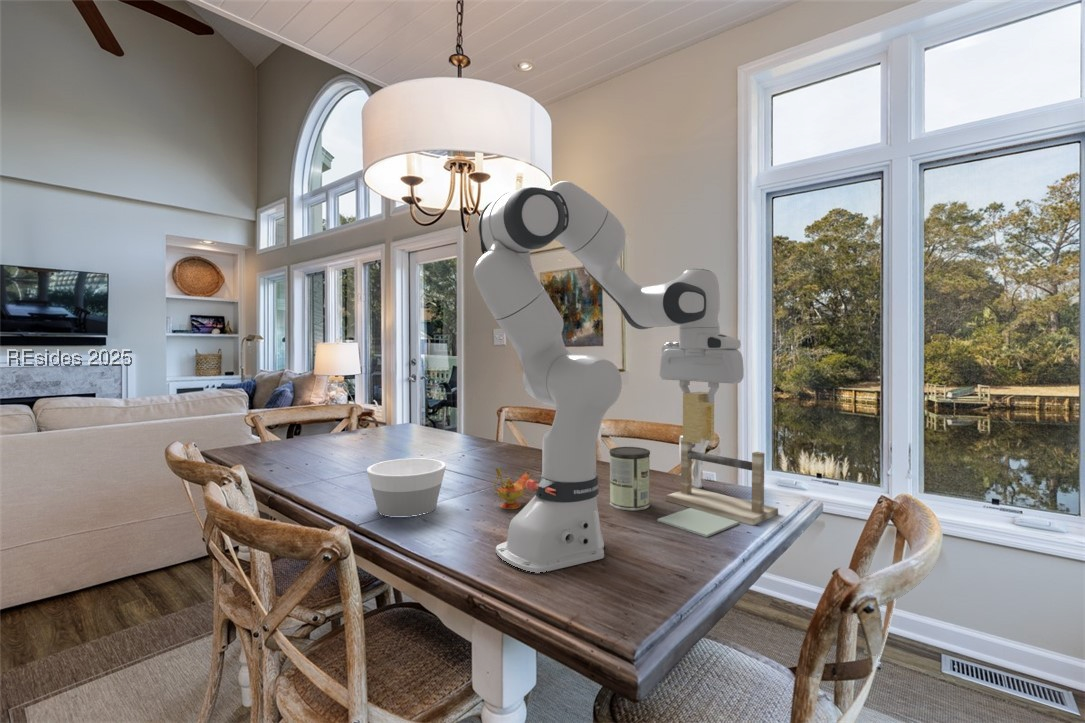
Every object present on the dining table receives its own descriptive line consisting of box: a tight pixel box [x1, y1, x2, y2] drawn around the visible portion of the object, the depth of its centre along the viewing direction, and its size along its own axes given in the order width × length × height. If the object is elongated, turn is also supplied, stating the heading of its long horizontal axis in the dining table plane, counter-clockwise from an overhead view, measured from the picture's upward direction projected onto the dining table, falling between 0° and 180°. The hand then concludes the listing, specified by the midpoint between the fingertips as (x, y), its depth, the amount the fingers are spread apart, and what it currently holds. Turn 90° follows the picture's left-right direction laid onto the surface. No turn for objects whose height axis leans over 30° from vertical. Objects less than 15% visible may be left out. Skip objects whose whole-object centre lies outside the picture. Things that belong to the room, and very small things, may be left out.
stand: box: [665, 441, 779, 526], centre depth 127 cm, size 12×24×16 cm, turn 39°
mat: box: [656, 507, 740, 538], centre depth 116 cm, size 13×13×1 cm
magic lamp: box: [494, 468, 533, 510], centre depth 130 cm, size 7×18×11 cm, turn 152°
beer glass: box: [678, 433, 705, 489], centre depth 146 cm, size 7×7×15 cm
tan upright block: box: [682, 391, 715, 443], centre depth 115 cm, size 6×4×11 cm, turn 129°
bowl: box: [366, 457, 447, 516], centre depth 126 cm, size 19×19×11 cm
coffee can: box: [608, 446, 651, 511], centre depth 129 cm, size 10×10×14 cm
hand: (698, 401), depth 115 cm, fingers closed on tan upright block, 4 cm apart
